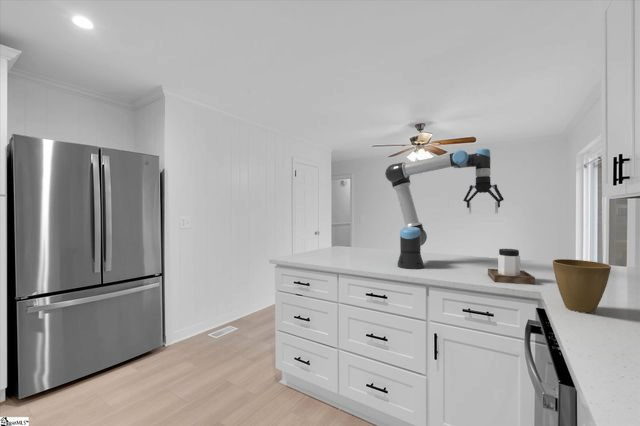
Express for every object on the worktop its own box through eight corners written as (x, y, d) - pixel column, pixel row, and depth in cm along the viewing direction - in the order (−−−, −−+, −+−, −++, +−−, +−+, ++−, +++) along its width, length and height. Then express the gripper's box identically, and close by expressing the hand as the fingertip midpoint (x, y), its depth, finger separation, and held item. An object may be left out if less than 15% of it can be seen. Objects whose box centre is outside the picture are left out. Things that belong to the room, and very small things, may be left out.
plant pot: (549, 310, 101) (549, 263, 101) (556, 300, 112) (556, 257, 111) (610, 321, 91) (610, 268, 90) (611, 309, 101) (611, 262, 101)
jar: (513, 277, 139) (513, 251, 139) (495, 274, 146) (495, 249, 146) (522, 274, 144) (522, 249, 144) (504, 271, 151) (504, 248, 151)
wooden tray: (494, 282, 140) (494, 275, 140) (487, 275, 155) (487, 268, 155) (535, 284, 135) (535, 277, 135) (523, 277, 150) (523, 270, 150)
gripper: (459, 176, 172) (460, 213, 172) (509, 174, 163) (509, 213, 164) (458, 178, 179) (458, 213, 179) (506, 176, 171) (506, 213, 171)
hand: (483, 213), depth 171 cm, fingers open, 13 cm apart
